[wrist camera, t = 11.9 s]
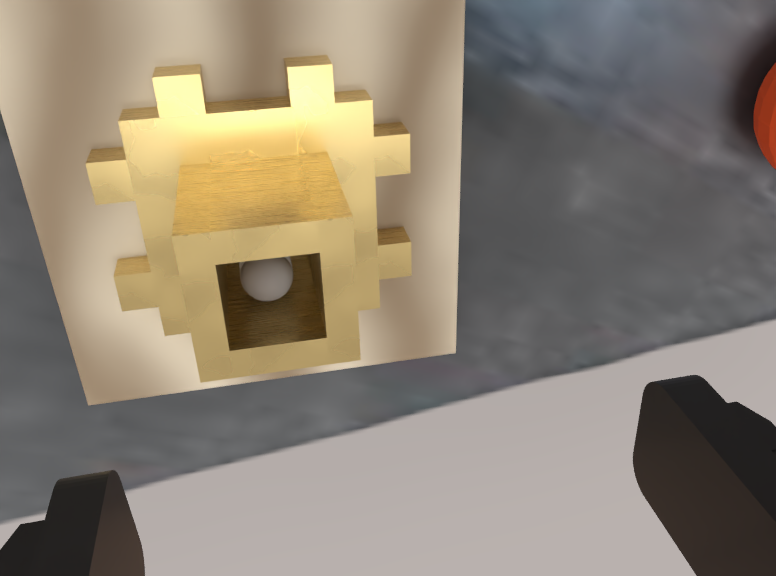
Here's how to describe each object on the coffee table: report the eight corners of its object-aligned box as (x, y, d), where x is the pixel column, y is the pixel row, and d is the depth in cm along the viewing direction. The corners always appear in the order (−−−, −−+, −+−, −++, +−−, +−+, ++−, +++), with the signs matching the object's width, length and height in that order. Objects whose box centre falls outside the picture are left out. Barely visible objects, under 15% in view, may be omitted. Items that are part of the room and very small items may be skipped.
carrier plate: (454, -32, 28) (529, 0, 21) (447, 335, 37) (499, 441, 30) (-20, -6, 25) (-105, 40, 18) (93, 385, 34) (63, 513, 27)
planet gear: (400, 49, 28) (456, 104, 21) (404, 313, 34) (449, 417, 27) (72, 73, 26) (26, 141, 19) (139, 348, 32) (120, 469, 25)
